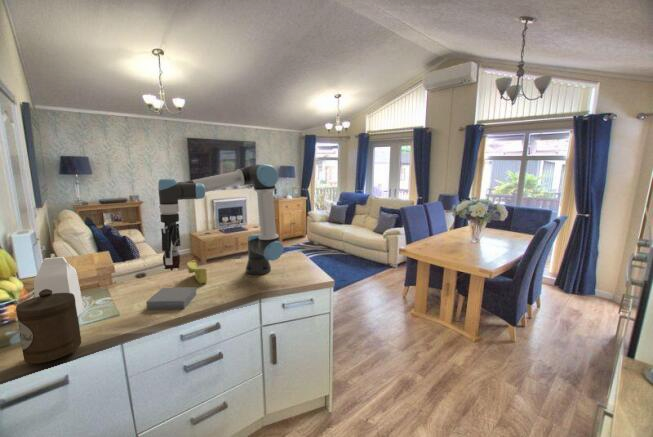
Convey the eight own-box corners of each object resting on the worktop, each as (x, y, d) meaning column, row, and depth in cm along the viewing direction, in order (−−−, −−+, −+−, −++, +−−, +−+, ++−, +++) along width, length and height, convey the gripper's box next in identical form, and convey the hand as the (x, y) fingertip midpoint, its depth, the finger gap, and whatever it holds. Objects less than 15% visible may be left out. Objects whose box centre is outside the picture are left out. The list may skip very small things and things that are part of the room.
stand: (196, 294, 152) (195, 287, 151) (184, 309, 136) (183, 300, 136) (163, 295, 151) (162, 287, 150) (147, 310, 135) (146, 301, 134)
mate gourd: (164, 267, 143) (162, 235, 141) (182, 265, 146) (181, 234, 144) (162, 271, 136) (160, 239, 134) (181, 269, 139) (180, 238, 137)
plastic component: (207, 284, 166) (206, 266, 165) (192, 287, 162) (191, 269, 160) (197, 274, 182) (196, 258, 180) (184, 276, 178) (182, 260, 176)
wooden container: (28, 347, 106) (19, 287, 102) (82, 334, 115) (75, 279, 111) (19, 370, 94) (8, 303, 91) (80, 353, 103) (72, 292, 99)
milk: (37, 326, 120) (27, 263, 116) (49, 314, 130) (41, 255, 126) (74, 321, 125) (67, 260, 121) (83, 309, 135) (77, 252, 131)
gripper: (170, 210, 147) (173, 256, 150) (150, 216, 127) (154, 269, 131) (186, 210, 147) (188, 256, 151) (168, 216, 128) (172, 268, 131)
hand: (172, 262), depth 141 cm, fingers closed on mate gourd, 7 cm apart
